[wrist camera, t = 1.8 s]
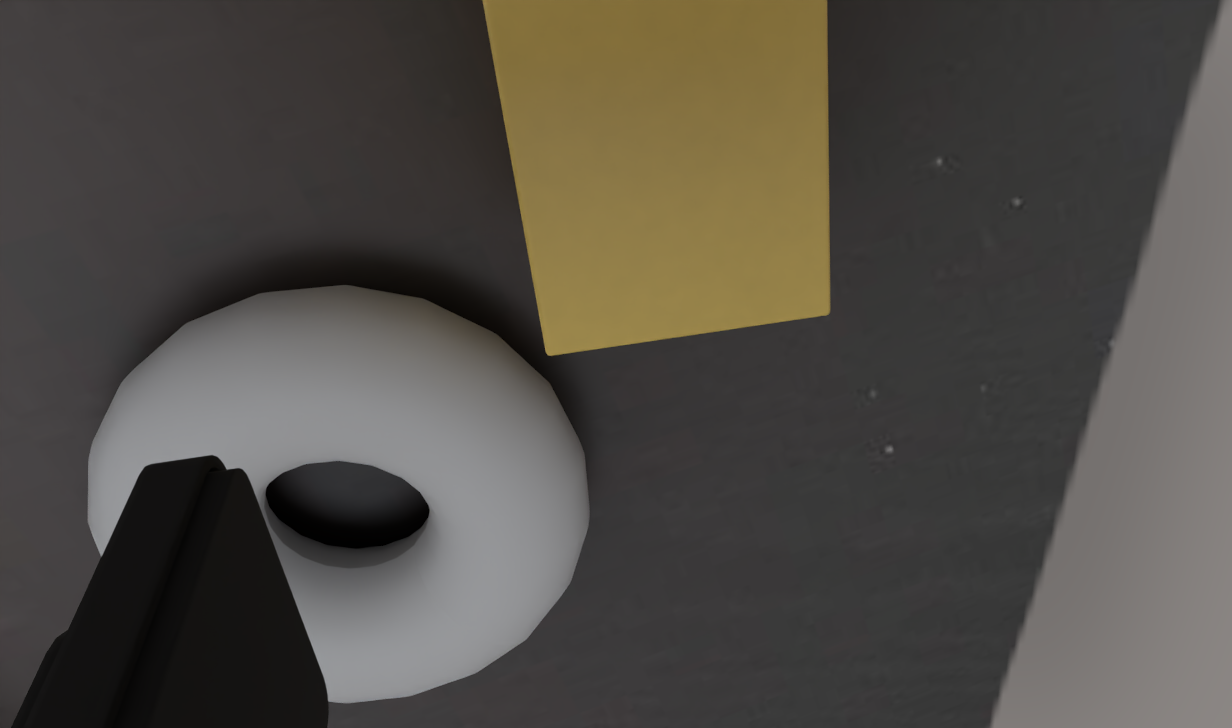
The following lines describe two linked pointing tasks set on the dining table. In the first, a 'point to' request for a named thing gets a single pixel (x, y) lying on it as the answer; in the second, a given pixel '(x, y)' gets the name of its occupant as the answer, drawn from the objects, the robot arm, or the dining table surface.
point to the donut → (382, 437)
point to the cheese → (667, 162)
